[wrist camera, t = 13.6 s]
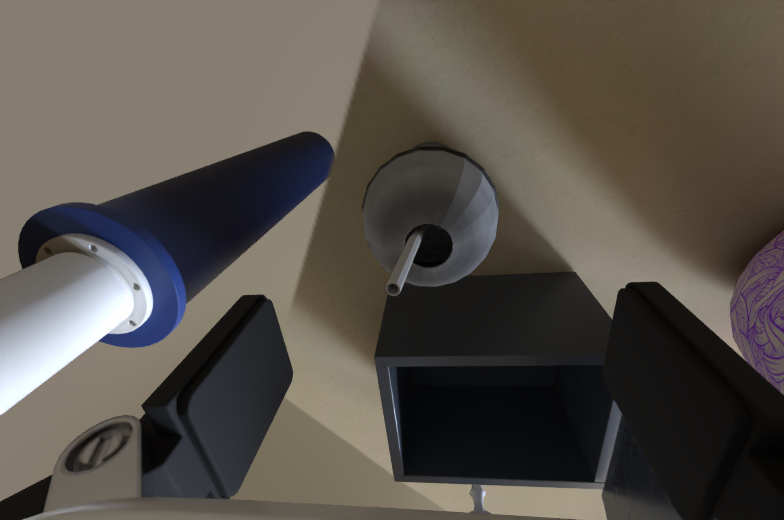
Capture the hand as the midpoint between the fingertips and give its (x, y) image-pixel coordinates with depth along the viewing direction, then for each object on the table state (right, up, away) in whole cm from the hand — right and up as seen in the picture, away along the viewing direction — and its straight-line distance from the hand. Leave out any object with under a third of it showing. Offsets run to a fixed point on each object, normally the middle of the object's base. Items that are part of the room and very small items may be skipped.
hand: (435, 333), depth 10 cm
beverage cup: (+2, +10, +19) cm, 22 cm away
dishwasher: (+8, -6, +26) cm, 28 cm away
